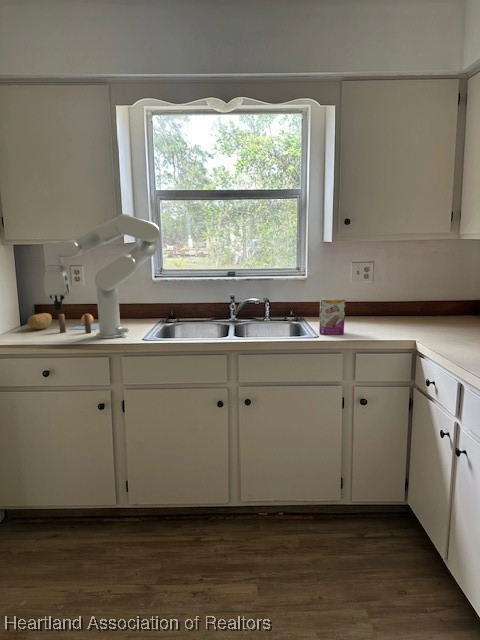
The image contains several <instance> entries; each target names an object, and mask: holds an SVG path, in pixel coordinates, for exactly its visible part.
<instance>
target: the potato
mask: <svg viewBox="0 0 480 640" xmlns="http://www.w3.org/2000/svg"><path fill="white" fill-rule="evenodd" d="M52 320H53V318H52V315H51V314H50V313H48V312H47V313H46V312H43V313H38V314H34V315H31V316H29V317H28V319H27V324H28V326H29V327H30V328H31V329H34V330H45V329H47V328H48V327H49V326H50V325H51V323H52Z"/></svg>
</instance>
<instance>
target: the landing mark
mask: <svg viewBox="0 0 480 640" xmlns="http://www.w3.org/2000/svg"><path fill="white" fill-rule="evenodd" d="M98 329H99V323H92V324H91V331H94V330H95V331H96V330H98ZM69 330H82V331H83V330H84V331H85V325H84V324H83V323H82V322H81V323H80V324H78V325H76V326H73V327H70V328H69Z"/></svg>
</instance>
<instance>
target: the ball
mask: <svg viewBox="0 0 480 640" xmlns="http://www.w3.org/2000/svg"><path fill="white" fill-rule="evenodd" d="M84 315H85V314H83V315H82V316H81V320H80V321H81V324H82V323H83V324H84V325H85V320H84ZM92 315H93V314H90V324H94V316H92Z"/></svg>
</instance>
